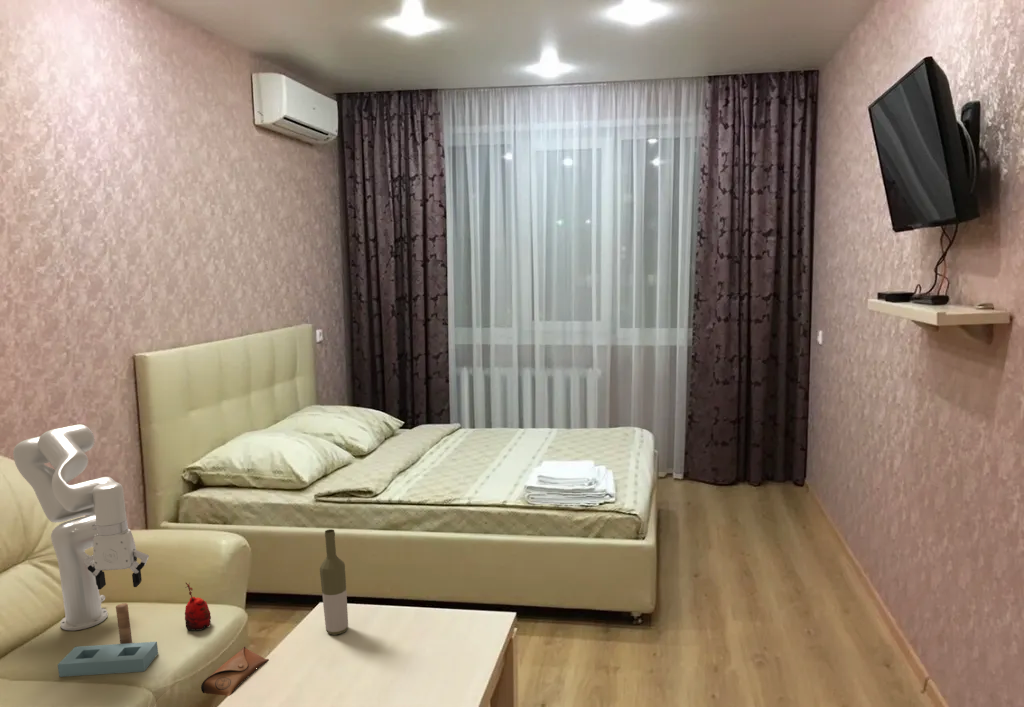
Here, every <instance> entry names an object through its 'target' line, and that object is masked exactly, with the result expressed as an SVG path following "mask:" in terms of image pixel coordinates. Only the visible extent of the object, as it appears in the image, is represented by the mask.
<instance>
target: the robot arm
mask: <svg viewBox="0 0 1024 707" xmlns="http://www.w3.org/2000/svg"><path fill="white" fill-rule="evenodd" d="M94 445H95V435H94V433H93V431H92V430H91V429H90V428H89V426H87V425H85V424H80V423H79V424H73V425H69V426H64V427H58V428H53V429H50V430H47V431H45V432H44V433H42V434H41V435H40V436H36V437H35V436H34V437H31V438H28V439H24V440H22V441H20V442H18V443H17V444H16V445H15V446H14V448H13V450H12V451H13V452H12V455H13V460H14V464H15V467H16V468H17V469H16V470H18V472H19V473H20V475H21V476H22V477H23V479H24V480H25V481H26V482H27V483H28V484H29V485H30V487H31V488H32V489H33V491H34V492H35V496H36V497H37V500H38V503H39V504H40V506H41V508H42V510H43V512H44V515H45V517H46V518H47V520H48V521H50V522H52V523H60V524H58V525H56V526H55V527H54V528H53V530H52V532H51V534H50V540H51V544H52V546H53V550H54V552H55V555H56V556H55V557H56V559H57V565H58V570H59V571H58V572H59V578H60V585H61V594H62V600H63V607H64V615H65V617H63V618H62V619H61V620H60V622H59V624H60V628H61V629H62V630H65V631H79V630H85V629H88V628H91V627H95V626H97V625H98V624H100V623H102V622H104V621H105V620H106V618H108V614H109V613H108V612H109V611H108V610H107V609H106V608H103V607H102V603H103V602H104V601H105V599H106V595H104V594H100V590H102V589H103V588H104V587H105V586H106V585H107V583H106V575H105V571H115V570H127V569H130V570H131V571H132V572H133V573H132V574H131V578H132V586H133V588H137V587H138V586H139V585H140V584H141V582H142V581H143V580H142V579H143V578H142V573H141V572H142V571H141V570H142V569H143V568H144V567H145V566H147V562H148V560H149V558H150V556H149V554H147V553H144V552H141V551H139V550H137V547H136V542H135V539H134V536H133V532H132V530H131V529H130V528H129V526H128V517H127V510H126V503H125V502H126V501H125V493H124V492H125V491H124V487H123V485H122V484H121V483H120V482H117V481H116V480H114V479H113V478H112V477H111V476H102V477H97V478H94V479H89V480H85V481H81V482H77V483H74V484H68V483H69V482H71V481H72V480H74V479H75V478H77V477H78V476H79V475H81V474H82V473H83V472H84V471H85V469H86V468H87V467H88V464H89V458H88V455H87V454H86V453H87V452H89V451H90V450H91V449H92V448H93V447H94ZM47 463H48V464H50V465H51V466H52V467H50V466H47V465H46V464H47ZM62 522H63V523H62ZM90 548H93V549H92V550H93V551H92V552H93V554H91V555H90V554H88V553H86V550H88V549H90ZM138 559H140V560H141V561H140V563H139V562H138Z"/></svg>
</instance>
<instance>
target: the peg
mask: <svg viewBox="0 0 1024 707" xmlns="http://www.w3.org/2000/svg"><path fill="white" fill-rule="evenodd" d="M115 611H116V620H117V627H118V628H117V629H118V635H119V636H118V637H119V644H126V643H133V639H132V638H133V637H132V630H131V628H132V627H131V623H130V622H131V621H130V620H131V619H130V613H129V612H130V611H129V604H128V603H127V602H126V603H125V602H124V603H120V604H117V605H116V606H115Z"/></svg>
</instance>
